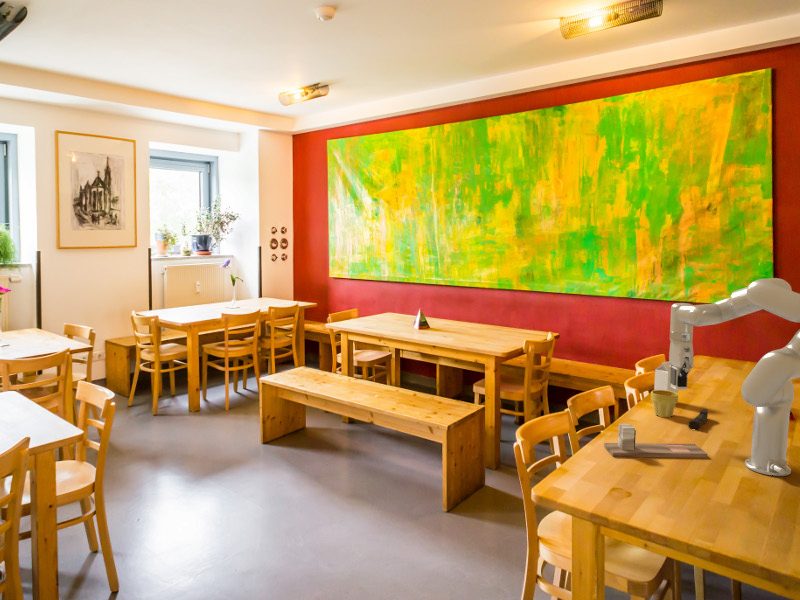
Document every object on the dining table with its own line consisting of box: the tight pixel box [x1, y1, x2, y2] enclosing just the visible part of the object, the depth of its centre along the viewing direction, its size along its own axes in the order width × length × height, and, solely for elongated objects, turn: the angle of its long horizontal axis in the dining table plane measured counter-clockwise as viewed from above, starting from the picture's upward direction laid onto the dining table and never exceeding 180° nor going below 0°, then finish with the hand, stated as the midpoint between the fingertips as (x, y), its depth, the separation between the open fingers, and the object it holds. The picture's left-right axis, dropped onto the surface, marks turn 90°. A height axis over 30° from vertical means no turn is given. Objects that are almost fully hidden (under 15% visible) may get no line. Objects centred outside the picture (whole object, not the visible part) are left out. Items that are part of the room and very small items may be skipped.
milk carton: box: [653, 360, 679, 404], centre depth 255 cm, size 7×7×19 cm
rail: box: [603, 423, 708, 459], centre depth 196 cm, size 9×32×10 cm, turn 88°
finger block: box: [670, 366, 688, 391], centre depth 208 cm, size 4×4×8 cm
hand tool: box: [688, 408, 709, 431], centre depth 225 cm, size 19×4×5 cm, turn 136°
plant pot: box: [650, 390, 679, 418], centre depth 237 cm, size 10×10×10 cm
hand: (679, 384), depth 208 cm, fingers closed on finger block, 4 cm apart
